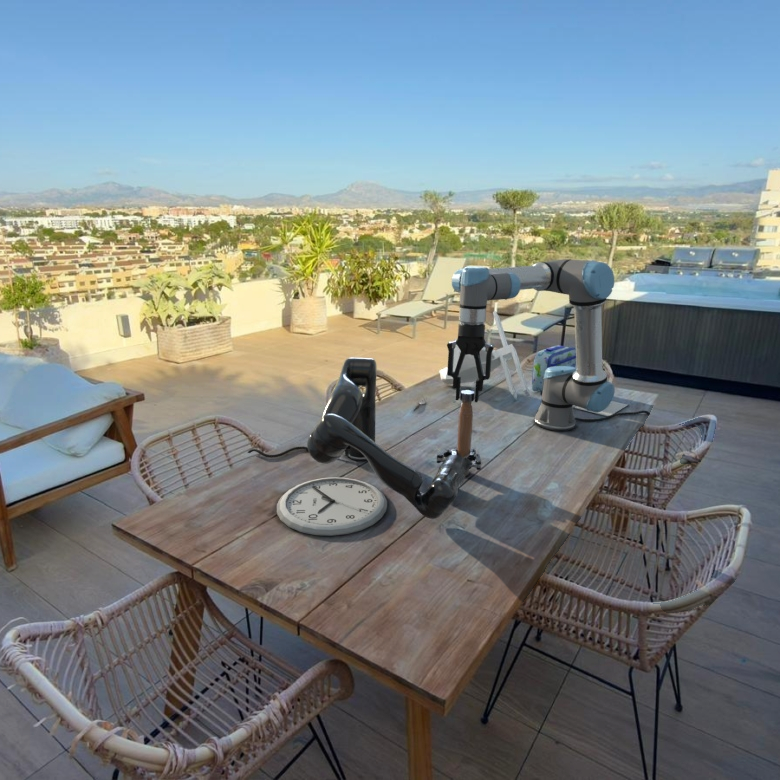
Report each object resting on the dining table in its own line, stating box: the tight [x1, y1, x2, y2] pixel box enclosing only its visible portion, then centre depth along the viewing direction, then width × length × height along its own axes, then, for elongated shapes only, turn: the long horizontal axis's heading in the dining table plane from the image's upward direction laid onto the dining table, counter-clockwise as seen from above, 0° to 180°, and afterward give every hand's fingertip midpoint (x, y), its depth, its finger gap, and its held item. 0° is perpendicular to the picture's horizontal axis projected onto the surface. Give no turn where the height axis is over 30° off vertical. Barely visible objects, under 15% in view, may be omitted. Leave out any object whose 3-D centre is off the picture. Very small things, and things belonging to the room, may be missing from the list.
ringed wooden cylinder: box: [456, 401, 474, 476], centre depth 159 cm, size 4×4×26 cm
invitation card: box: [573, 400, 629, 417], centre depth 226 cm, size 21×1×15 cm
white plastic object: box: [438, 310, 531, 400], centre depth 245 cm, size 37×45×31 cm
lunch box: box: [531, 345, 576, 394], centre depth 245 cm, size 26×11×21 cm, turn 134°
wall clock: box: [276, 476, 388, 537], centre depth 142 cm, size 30×2×30 cm
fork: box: [413, 396, 428, 412], centre depth 222 cm, size 3×16×2 cm, turn 160°
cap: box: [459, 389, 475, 403], centre depth 156 cm, size 4×4×2 cm
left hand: (465, 449), depth 163 cm, fingers closed on ringed wooden cylinder, 4 cm apart
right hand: (467, 399), depth 156 cm, fingers open, 5 cm apart
